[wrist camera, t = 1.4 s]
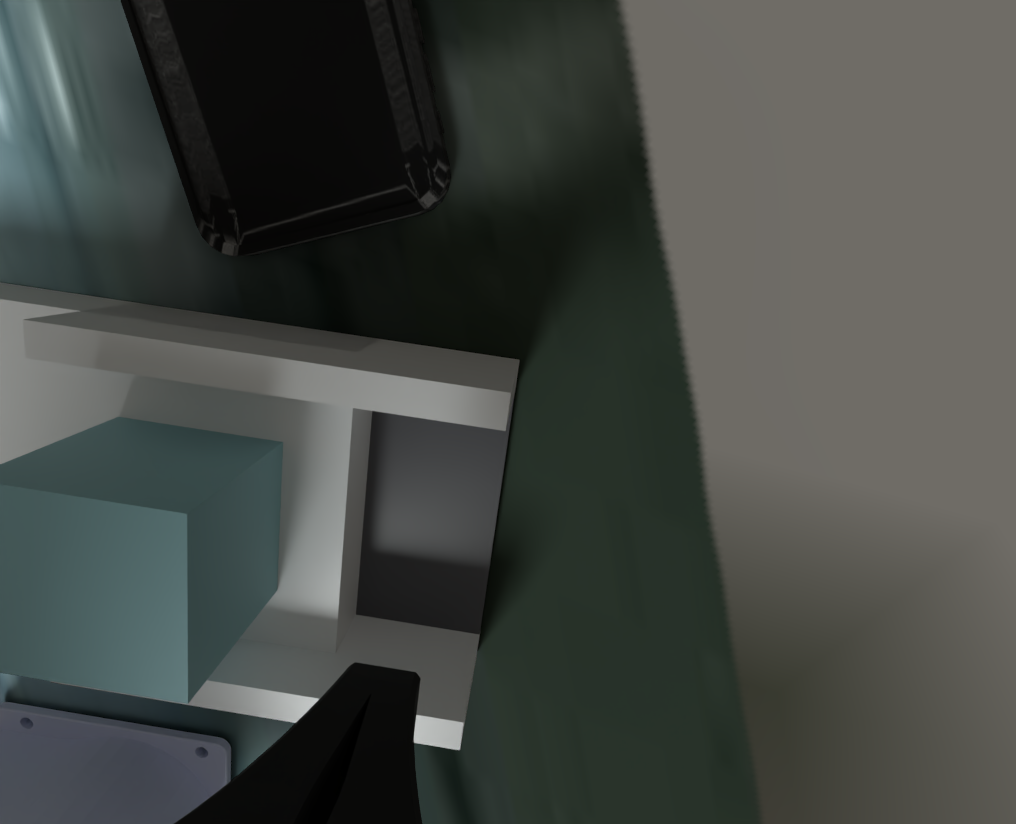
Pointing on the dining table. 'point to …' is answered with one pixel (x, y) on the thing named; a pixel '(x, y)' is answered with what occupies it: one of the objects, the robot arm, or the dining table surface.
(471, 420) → the grey channel
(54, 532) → the teal block
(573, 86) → the dining table surface
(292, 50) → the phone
